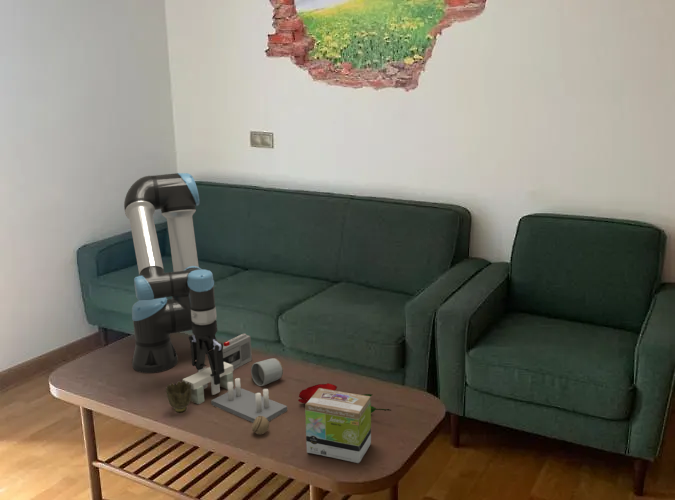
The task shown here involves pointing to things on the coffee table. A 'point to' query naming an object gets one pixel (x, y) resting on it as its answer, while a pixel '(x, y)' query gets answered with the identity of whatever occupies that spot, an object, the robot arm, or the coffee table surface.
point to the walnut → (260, 425)
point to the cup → (179, 396)
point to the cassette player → (237, 351)
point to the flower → (310, 391)
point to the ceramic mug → (266, 371)
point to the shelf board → (205, 376)
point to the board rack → (198, 393)
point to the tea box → (338, 424)
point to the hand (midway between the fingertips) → (209, 390)
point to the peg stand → (248, 403)
